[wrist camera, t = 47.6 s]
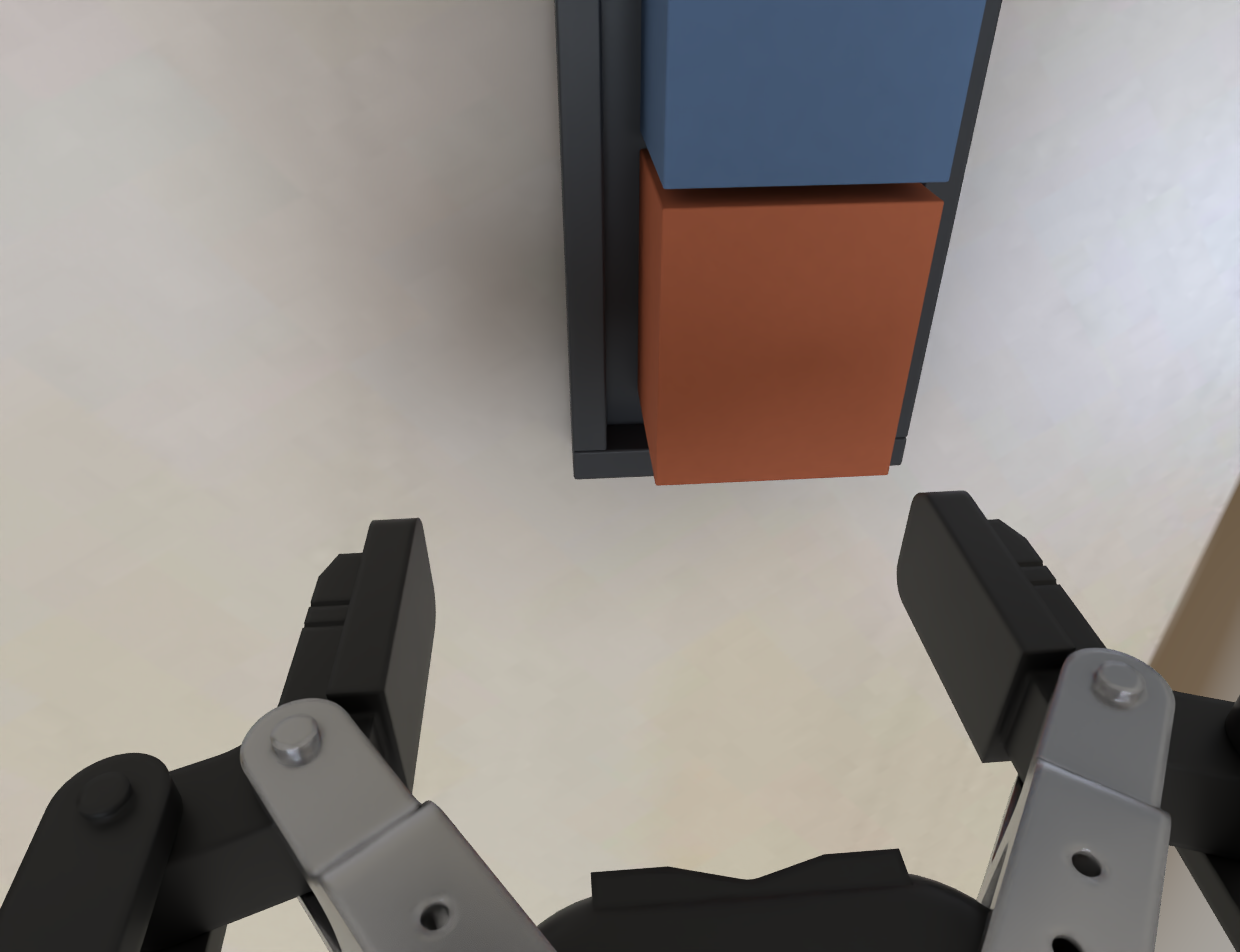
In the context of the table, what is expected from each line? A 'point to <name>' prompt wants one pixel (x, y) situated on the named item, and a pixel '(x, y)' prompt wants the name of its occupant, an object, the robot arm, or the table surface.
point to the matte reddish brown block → (778, 325)
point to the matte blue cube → (804, 90)
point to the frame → (609, 228)
